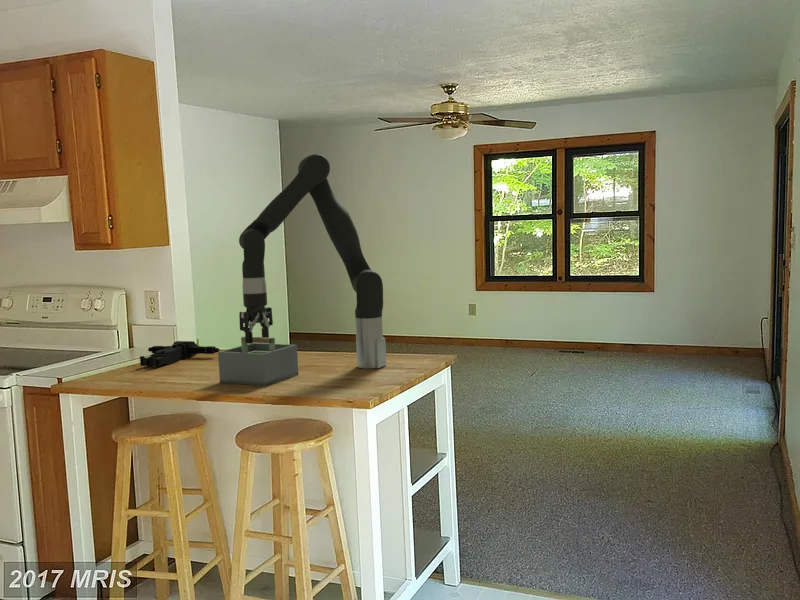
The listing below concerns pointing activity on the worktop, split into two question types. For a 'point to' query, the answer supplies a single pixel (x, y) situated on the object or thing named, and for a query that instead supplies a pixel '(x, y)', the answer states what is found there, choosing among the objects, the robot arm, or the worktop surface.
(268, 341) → the green basket
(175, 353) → the toy
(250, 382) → the charcoal crate
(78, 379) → the worktop surface
